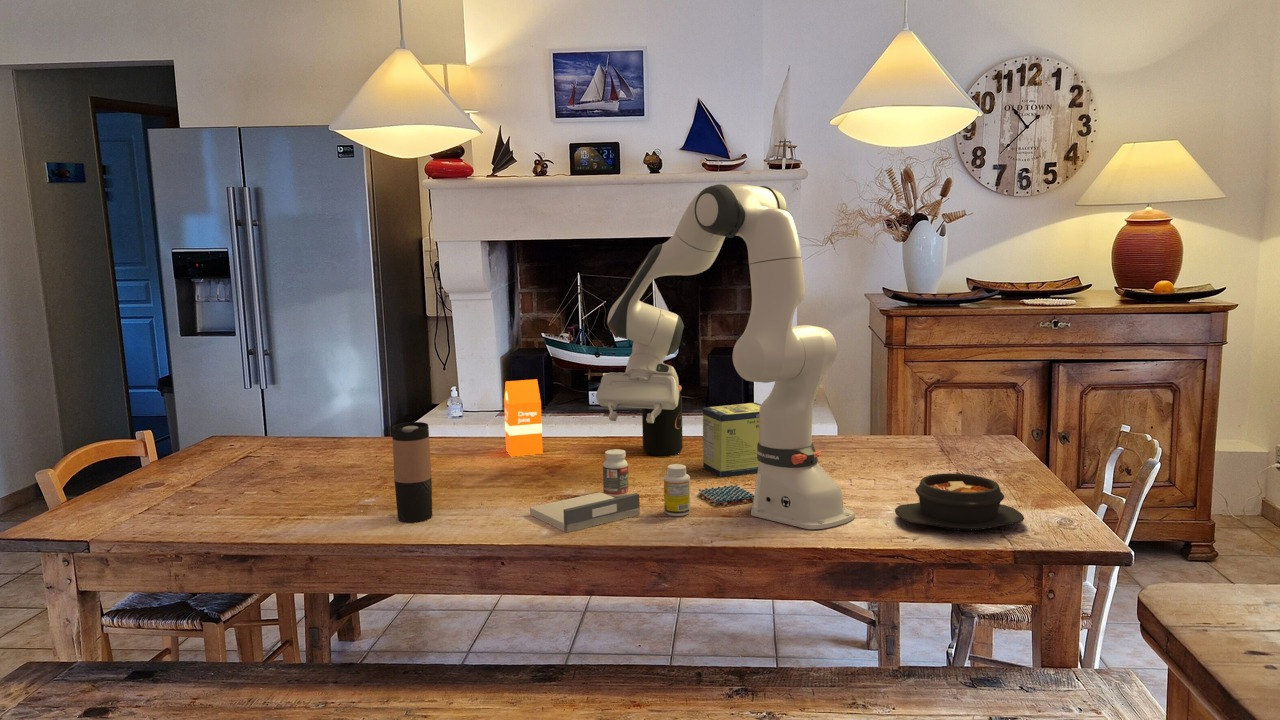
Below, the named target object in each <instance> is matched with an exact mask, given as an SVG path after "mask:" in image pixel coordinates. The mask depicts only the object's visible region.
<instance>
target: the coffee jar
mask: <svg viewBox="0 0 1280 720" xmlns="http://www.w3.org/2000/svg"><path fill="white" fill-rule="evenodd" d="M678 389H679V401H678V406H677V407H676V408H675V409H673V410H669V409H662V410H661V413H660V414H659V415H658V416H657V417H656V418H655V420H654V423H647V421H646V418H647V414H648V413H651V412H652V411H653V410H654V409H648V408H641V412H642V413H641V416H642V417H641V418H642V419H641V421H642V422H641V423H642V424H641V425H642V427H641V428H642V449H643V451H644V453H645V454H646V455H648V456H651V455H652V457H657V456H666V457H671V456H670V455H674V456H676V455H675V454H677V455H679V454H681V451H682V450H683V396H682V394H681V391H682V389H683V388H682V385H680V384H678ZM678 453H679V454H678Z"/></svg>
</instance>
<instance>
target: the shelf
mask: <svg viewBox="0 0 1280 720" xmlns="http://www.w3.org/2000/svg"><path fill="white" fill-rule="evenodd" d="M640 508H641V507H640V494H639V493H636V492H635V493H631V494H627V495H625V496H621V497H611V496H609V495H606V494H604V492H601V491H599V492H594V493H590V494H586V495H581V496H576V497H572V498H571V497H570V498H567V499H562V500H557V501H553V502H550V503H549V502H548V503H545V504H540V505H536V506H531V507H529V515H530V516H532V517H534V518H536V519H538V520H540V521H542V522H544V523H546V524H548V523H549V525H550V524H551V525H550V526H552V525H553V527H555V528H557V529H558V530H561V531H563V532H565V533H567V532H568V533H571V532H576V531H580V530H584V529H588V528H592V526H593V527H595V525H597V526H600V525H599V524H601V525H604V524H603V523H605V524H609V523H612V521H613V522H615V520H617V521H620V519H621V520H624V519H629V518H632V517H637V516H640V515H641V513H640V511H641V510H640ZM628 517H629V518H628ZM608 522H609V523H608Z"/></svg>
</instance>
